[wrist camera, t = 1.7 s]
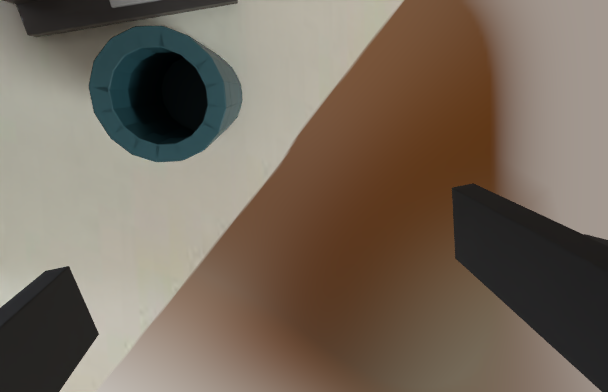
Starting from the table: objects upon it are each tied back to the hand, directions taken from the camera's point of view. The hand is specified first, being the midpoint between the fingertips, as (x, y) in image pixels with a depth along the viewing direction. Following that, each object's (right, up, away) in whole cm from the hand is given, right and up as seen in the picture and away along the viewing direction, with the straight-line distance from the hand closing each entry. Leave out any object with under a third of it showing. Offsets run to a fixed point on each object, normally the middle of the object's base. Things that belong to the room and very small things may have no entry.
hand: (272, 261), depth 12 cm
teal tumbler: (-9, +13, +23) cm, 28 cm away
